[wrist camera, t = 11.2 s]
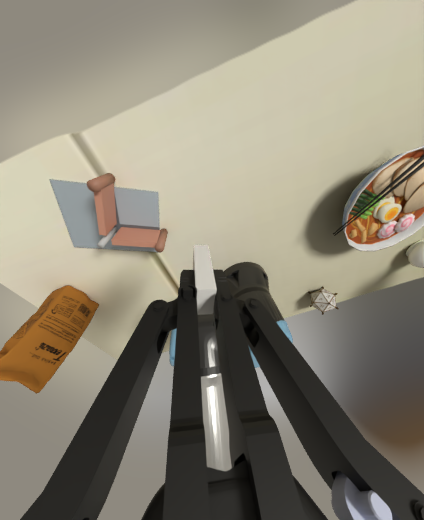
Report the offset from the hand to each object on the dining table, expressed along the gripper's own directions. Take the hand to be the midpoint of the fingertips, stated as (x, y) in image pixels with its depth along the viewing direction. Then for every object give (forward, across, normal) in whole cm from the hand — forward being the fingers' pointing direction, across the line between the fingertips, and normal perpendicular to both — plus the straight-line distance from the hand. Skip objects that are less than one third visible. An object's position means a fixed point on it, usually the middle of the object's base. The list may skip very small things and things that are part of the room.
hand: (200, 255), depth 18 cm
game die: (+25, -45, +30) cm, 59 cm away
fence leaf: (+23, +17, +1) cm, 29 cm away
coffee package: (+25, +34, +32) cm, 53 cm away
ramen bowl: (+24, -43, -3) cm, 50 cm away
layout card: (+24, +18, +6) cm, 31 cm away
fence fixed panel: (+24, +13, +8) cm, 28 cm away
